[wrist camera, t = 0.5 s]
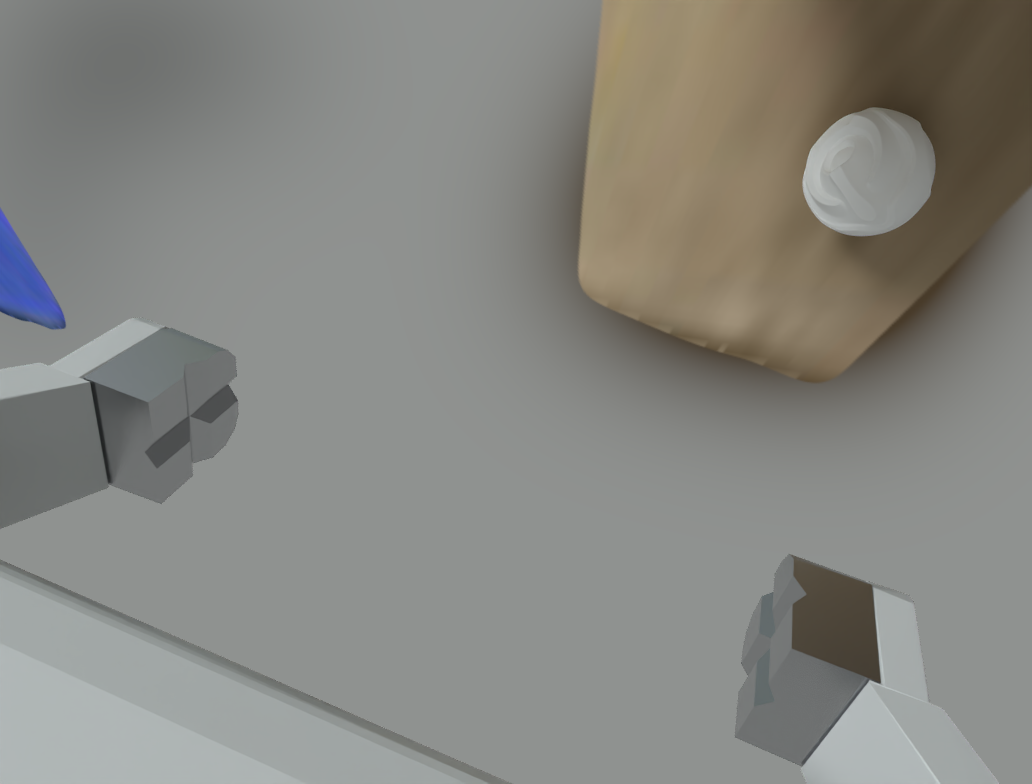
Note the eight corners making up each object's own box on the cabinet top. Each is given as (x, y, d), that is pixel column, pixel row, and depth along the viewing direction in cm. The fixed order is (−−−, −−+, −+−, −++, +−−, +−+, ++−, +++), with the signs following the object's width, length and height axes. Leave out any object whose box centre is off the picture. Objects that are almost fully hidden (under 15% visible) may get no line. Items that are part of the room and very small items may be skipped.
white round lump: (894, 64, 48) (872, 119, 43) (972, 148, 49) (960, 210, 44) (795, 144, 54) (767, 200, 49) (867, 217, 55) (846, 278, 51)
